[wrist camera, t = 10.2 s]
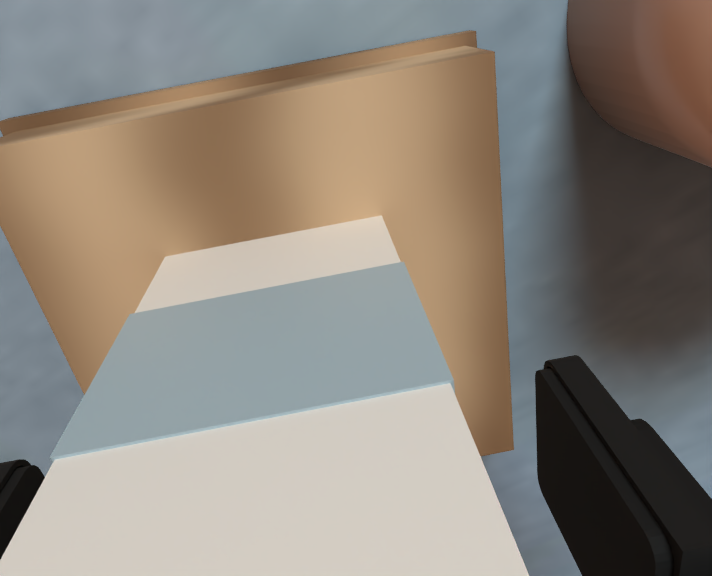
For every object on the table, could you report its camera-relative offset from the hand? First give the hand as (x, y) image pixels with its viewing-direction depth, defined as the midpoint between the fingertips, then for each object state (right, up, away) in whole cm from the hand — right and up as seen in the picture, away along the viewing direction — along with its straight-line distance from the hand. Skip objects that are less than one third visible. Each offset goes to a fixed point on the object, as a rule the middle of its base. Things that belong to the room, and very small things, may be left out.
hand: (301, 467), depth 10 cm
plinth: (-1, +4, +7) cm, 8 cm away
